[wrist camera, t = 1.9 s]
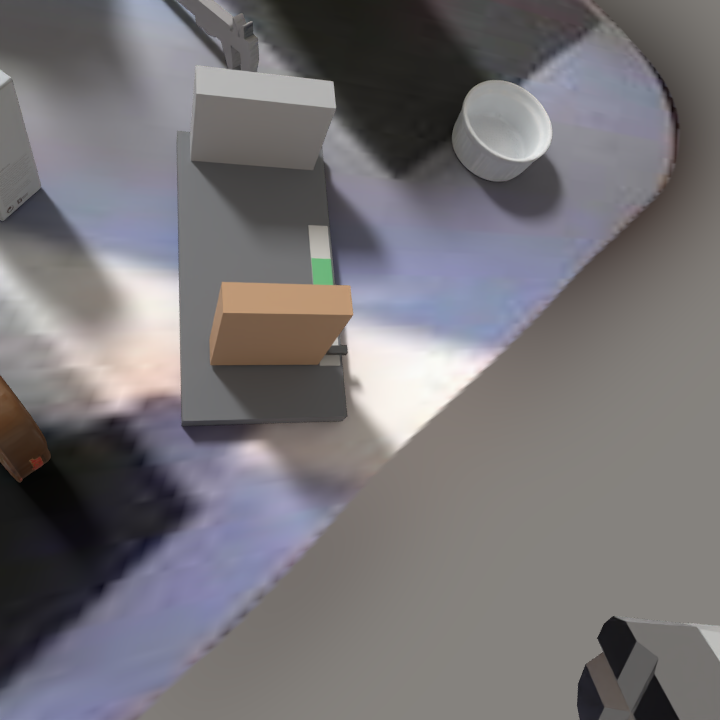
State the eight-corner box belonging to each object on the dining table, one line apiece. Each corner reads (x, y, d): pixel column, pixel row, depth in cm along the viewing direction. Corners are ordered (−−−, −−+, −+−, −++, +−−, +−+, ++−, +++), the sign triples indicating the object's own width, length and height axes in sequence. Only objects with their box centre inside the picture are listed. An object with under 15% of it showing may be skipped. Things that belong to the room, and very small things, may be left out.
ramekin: (428, 123, 65) (446, 92, 61) (498, 99, 68) (519, 68, 64) (477, 200, 63) (498, 173, 59) (545, 172, 67) (570, 145, 63)
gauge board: (342, 421, 53) (379, 386, 44) (181, 426, 49) (187, 389, 41) (318, 154, 60) (345, 79, 51) (176, 142, 56) (180, 60, 48)
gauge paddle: (346, 364, 52) (386, 315, 43) (210, 365, 49) (223, 312, 40) (343, 340, 53) (383, 286, 44) (209, 339, 50) (221, 281, 41)
